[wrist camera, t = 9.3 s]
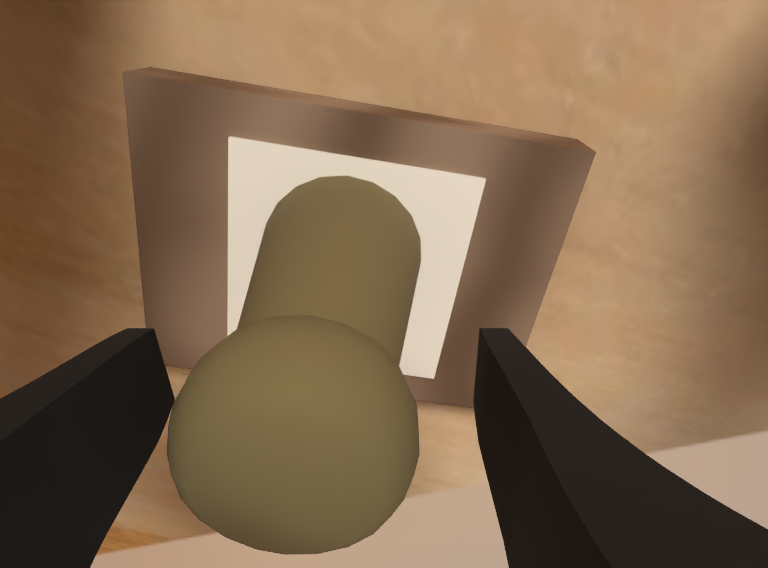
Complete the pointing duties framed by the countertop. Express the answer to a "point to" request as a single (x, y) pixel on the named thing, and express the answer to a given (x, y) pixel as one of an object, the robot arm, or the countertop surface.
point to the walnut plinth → (343, 158)
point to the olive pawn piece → (308, 380)
